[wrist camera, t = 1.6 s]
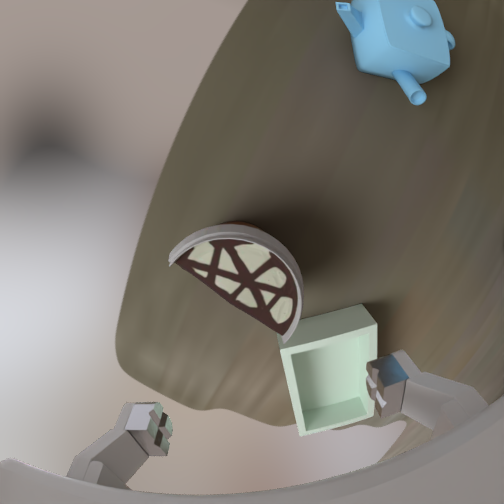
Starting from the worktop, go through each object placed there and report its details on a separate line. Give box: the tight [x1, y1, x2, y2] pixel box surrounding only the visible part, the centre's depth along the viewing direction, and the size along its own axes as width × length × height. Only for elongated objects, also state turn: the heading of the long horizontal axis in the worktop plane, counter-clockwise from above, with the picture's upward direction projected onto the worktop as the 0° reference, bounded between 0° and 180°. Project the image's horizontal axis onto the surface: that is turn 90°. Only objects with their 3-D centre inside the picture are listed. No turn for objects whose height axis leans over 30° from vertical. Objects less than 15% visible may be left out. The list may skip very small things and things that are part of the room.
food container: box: [168, 221, 304, 344], centre depth 26 cm, size 12×6×10 cm, turn 52°
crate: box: [277, 304, 377, 436], centre depth 33 cm, size 11×17×5 cm, turn 13°
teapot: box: [336, 0, 455, 105], centre depth 19 cm, size 18×14×10 cm
